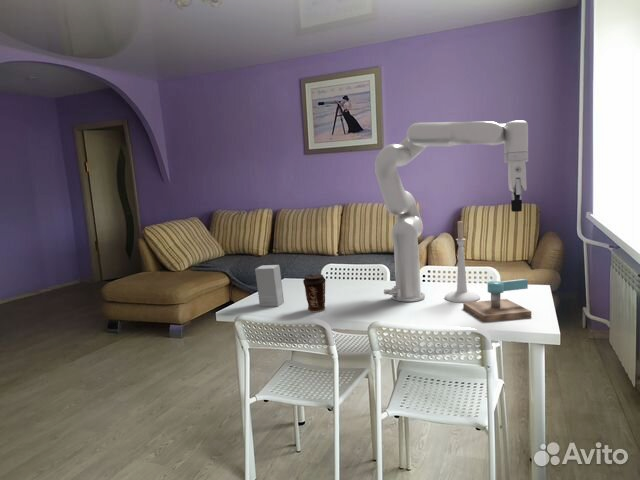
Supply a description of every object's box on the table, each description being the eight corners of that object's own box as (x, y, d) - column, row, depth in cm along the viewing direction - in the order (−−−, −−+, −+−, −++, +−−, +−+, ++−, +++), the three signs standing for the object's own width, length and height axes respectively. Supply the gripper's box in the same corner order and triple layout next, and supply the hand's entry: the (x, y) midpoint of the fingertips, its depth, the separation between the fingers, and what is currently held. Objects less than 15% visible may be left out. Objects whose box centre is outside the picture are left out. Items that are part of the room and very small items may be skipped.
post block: (483, 321, 147) (483, 300, 146) (463, 308, 163) (462, 289, 162) (531, 317, 149) (531, 296, 148) (506, 304, 165) (506, 285, 164)
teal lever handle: (492, 294, 152) (492, 284, 152) (484, 290, 157) (484, 281, 157) (531, 289, 155) (531, 280, 154) (522, 286, 159) (522, 277, 159)
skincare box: (284, 302, 186) (281, 264, 184) (277, 307, 180) (274, 267, 178) (265, 302, 189) (262, 264, 187) (257, 306, 183) (254, 267, 181)
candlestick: (470, 304, 167) (468, 222, 164) (438, 299, 176) (436, 221, 172) (485, 296, 177) (484, 218, 173) (454, 292, 185) (452, 218, 182)
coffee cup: (306, 307, 178) (303, 274, 176) (327, 306, 177) (325, 272, 176) (304, 313, 169) (302, 279, 167) (327, 312, 169) (325, 277, 167)
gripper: (531, 156, 150) (531, 212, 153) (525, 157, 164) (525, 209, 167) (506, 158, 152) (507, 213, 155) (502, 159, 167) (503, 210, 169)
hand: (516, 211), depth 161 cm, fingers closed
